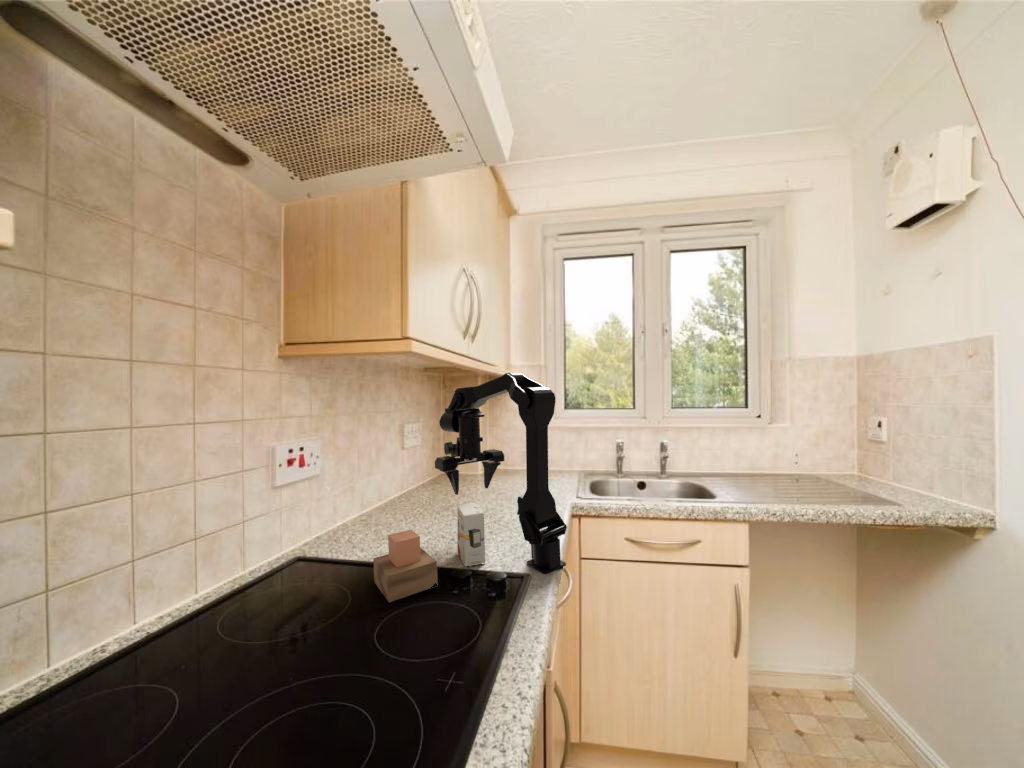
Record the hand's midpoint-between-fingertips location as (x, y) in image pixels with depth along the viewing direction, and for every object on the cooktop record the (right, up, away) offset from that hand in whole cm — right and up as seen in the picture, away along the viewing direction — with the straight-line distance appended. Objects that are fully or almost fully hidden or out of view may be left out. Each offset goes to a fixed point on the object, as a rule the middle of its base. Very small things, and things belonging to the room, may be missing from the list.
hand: (471, 491), depth 108 cm
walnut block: (-11, -13, -25) cm, 30 cm away
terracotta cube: (-11, -8, -25) cm, 29 cm away
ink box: (+1, -12, -14) cm, 19 cm away
